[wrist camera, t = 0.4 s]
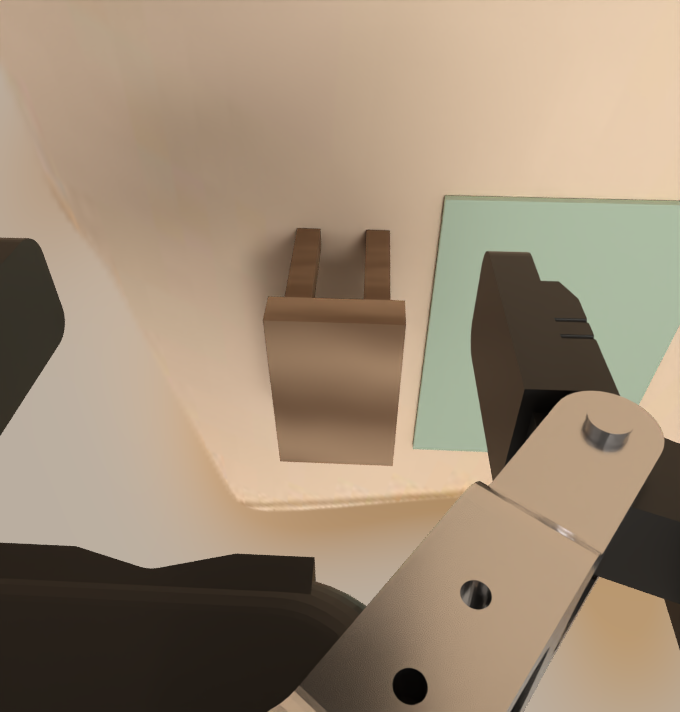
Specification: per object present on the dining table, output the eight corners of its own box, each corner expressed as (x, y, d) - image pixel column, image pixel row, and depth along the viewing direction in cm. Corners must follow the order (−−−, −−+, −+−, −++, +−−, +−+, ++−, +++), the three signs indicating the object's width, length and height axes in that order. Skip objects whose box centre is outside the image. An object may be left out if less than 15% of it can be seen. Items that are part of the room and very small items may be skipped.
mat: (444, 195, 30) (445, 199, 30) (736, 202, 30) (740, 206, 29) (412, 444, 44) (413, 448, 44) (610, 452, 44) (612, 456, 43)
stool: (285, 217, 32) (262, 320, 26) (402, 220, 31) (405, 325, 26) (295, 356, 39) (280, 461, 33) (391, 359, 38) (392, 465, 33)
